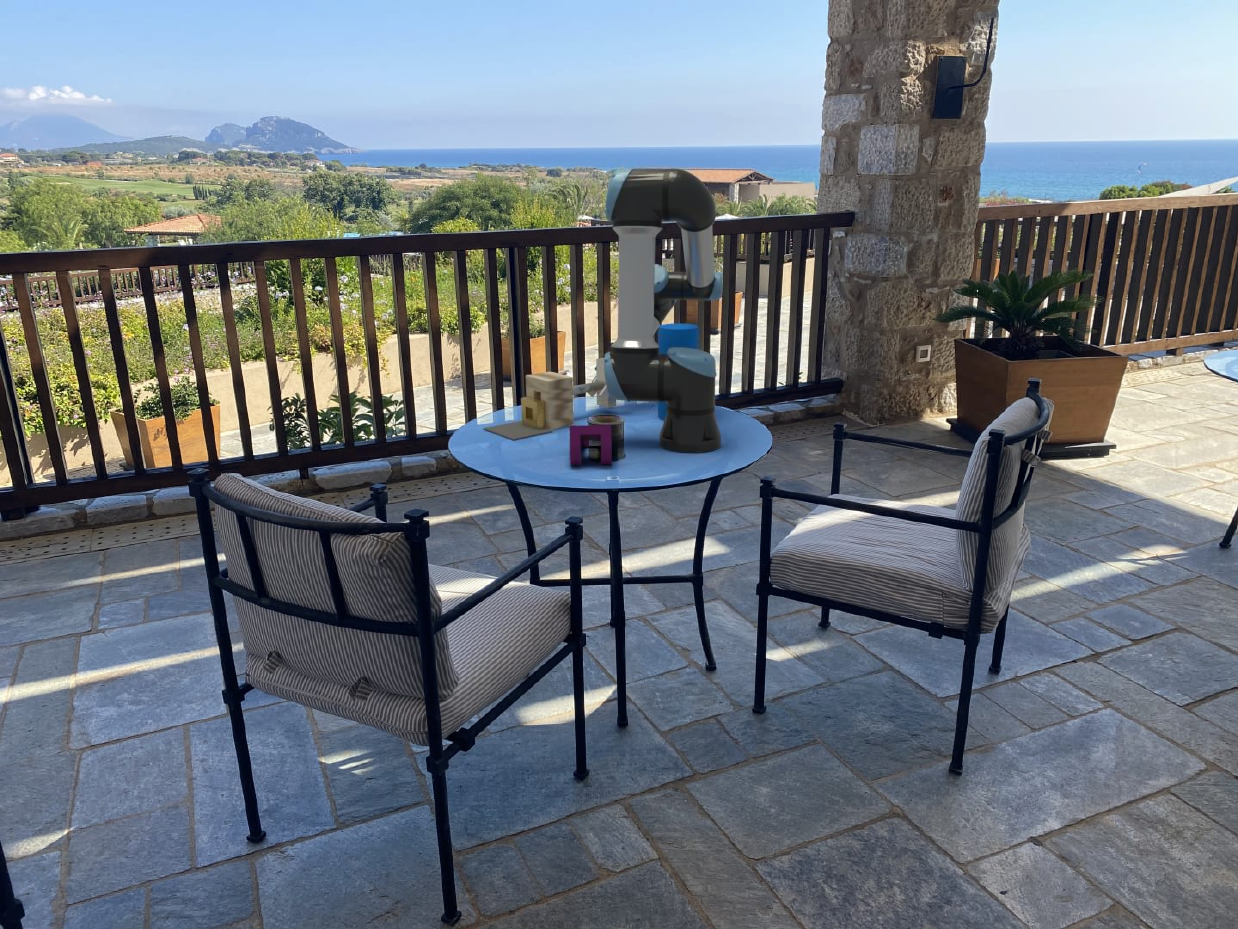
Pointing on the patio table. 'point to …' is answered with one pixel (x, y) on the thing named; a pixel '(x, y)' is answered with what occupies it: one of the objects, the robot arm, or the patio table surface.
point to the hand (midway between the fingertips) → (596, 395)
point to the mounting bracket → (581, 439)
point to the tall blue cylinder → (675, 338)
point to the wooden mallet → (596, 386)
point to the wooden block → (553, 397)
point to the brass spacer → (533, 412)
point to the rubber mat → (516, 430)
